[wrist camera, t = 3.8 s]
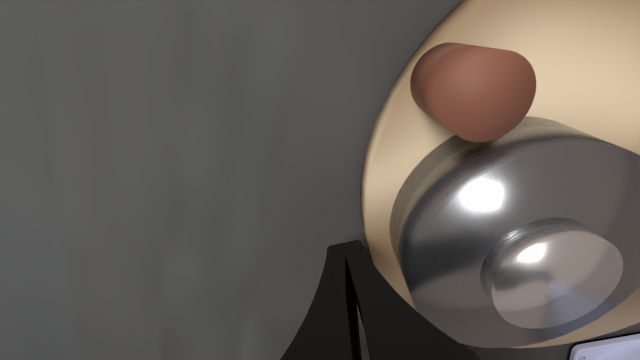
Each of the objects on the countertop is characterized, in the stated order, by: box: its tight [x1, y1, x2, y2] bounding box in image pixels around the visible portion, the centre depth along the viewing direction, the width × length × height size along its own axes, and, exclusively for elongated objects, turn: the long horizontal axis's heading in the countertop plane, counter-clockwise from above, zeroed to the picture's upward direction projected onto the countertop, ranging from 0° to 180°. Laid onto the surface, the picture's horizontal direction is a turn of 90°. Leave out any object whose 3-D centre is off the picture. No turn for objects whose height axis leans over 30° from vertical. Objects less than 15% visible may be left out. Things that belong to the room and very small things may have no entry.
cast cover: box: [389, 116, 640, 348], centre depth 12 cm, size 9×9×4 cm
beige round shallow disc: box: [360, 0, 640, 348], centre depth 13 cm, size 20×20×4 cm
